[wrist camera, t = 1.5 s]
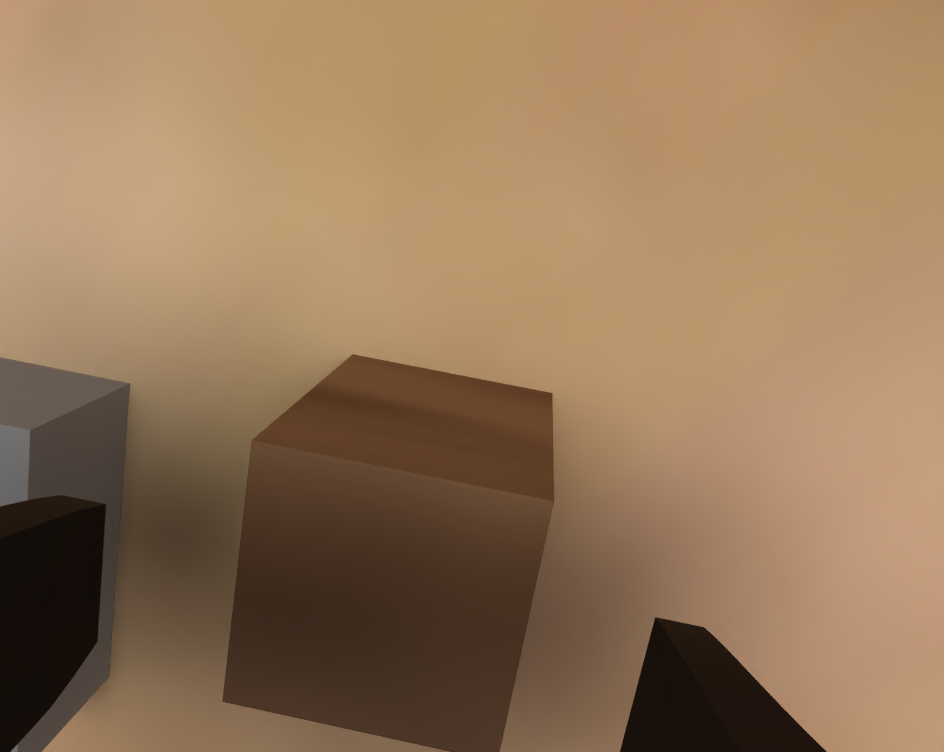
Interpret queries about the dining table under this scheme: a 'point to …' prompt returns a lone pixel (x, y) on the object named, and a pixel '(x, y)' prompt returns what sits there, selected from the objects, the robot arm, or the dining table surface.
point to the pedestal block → (66, 486)
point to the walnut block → (393, 554)
